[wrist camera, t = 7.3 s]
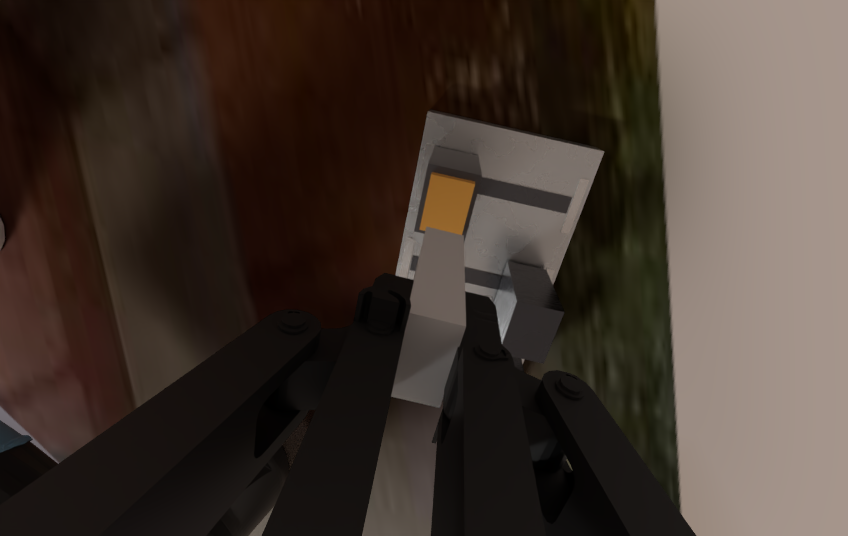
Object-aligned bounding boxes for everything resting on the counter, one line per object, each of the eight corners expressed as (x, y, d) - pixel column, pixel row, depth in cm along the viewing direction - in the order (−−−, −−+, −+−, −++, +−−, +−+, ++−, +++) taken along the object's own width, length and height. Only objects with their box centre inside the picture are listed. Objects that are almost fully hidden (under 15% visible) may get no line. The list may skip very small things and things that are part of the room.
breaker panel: (380, 356, 39) (360, 426, 31) (429, 109, 29) (418, 121, 22) (506, 384, 39) (517, 461, 31) (595, 146, 30) (642, 172, 22)
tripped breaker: (423, 202, 30) (412, 235, 24) (435, 145, 28) (427, 165, 22) (463, 211, 30) (464, 246, 24) (478, 155, 28) (482, 177, 22)
